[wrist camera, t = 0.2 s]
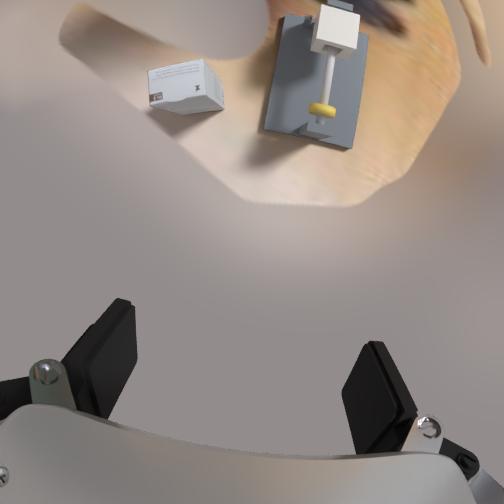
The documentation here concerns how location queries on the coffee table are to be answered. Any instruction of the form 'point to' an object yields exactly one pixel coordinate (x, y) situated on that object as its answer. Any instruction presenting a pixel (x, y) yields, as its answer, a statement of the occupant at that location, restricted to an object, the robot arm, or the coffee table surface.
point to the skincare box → (186, 88)
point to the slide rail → (316, 85)
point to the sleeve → (335, 31)
